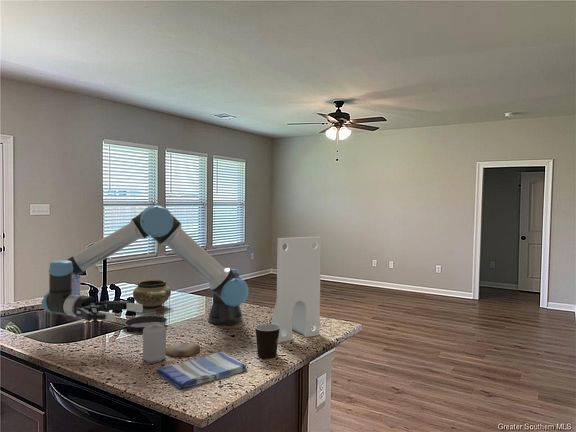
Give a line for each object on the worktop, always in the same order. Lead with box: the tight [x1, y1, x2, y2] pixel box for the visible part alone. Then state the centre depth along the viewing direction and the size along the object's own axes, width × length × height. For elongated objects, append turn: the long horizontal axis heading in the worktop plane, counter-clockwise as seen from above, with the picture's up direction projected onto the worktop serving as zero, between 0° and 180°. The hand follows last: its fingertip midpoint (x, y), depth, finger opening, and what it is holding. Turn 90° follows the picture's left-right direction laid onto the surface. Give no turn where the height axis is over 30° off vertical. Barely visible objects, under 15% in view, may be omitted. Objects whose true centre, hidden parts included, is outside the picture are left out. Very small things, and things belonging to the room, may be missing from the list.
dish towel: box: [155, 351, 248, 391], centre depth 133 cm, size 17×24×3 cm
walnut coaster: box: [166, 342, 201, 358], centre depth 151 cm, size 12×12×1 cm
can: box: [142, 322, 167, 364], centre depth 142 cm, size 8×8×12 cm
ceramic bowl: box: [132, 279, 172, 311], centre depth 211 cm, size 24×18×15 cm
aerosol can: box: [72, 274, 81, 295], centre depth 227 cm, size 8×8×20 cm
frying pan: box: [123, 315, 168, 333], centre depth 173 cm, size 18×32×4 cm, turn 23°
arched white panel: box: [270, 236, 322, 344], centre depth 172 cm, size 20×14×40 cm
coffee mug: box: [254, 323, 280, 360], centre depth 149 cm, size 12×9×10 cm
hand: (128, 312), depth 145 cm, fingers open, 13 cm apart
